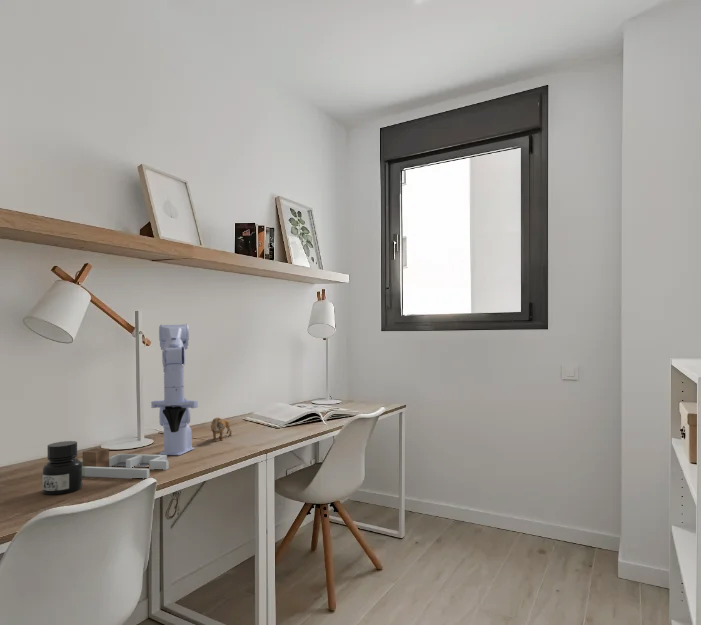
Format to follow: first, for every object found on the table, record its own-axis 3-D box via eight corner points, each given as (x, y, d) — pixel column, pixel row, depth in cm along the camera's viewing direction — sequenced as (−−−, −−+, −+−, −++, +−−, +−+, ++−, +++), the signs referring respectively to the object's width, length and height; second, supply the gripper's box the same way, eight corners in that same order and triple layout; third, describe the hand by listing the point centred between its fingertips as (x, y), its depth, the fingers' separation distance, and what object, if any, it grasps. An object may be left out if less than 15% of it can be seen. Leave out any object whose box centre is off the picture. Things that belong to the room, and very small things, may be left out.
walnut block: (95, 467, 151) (95, 447, 152) (109, 468, 150) (109, 448, 150) (82, 472, 147) (82, 451, 147) (96, 473, 145) (96, 452, 145)
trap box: (102, 460, 159) (102, 453, 160) (179, 463, 153) (179, 455, 153) (62, 475, 144) (62, 466, 144) (146, 479, 137) (146, 470, 137)
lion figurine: (223, 443, 181) (222, 418, 182) (208, 443, 182) (208, 418, 182) (233, 434, 196) (233, 411, 196) (220, 435, 196) (219, 412, 197)
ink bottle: (33, 493, 127) (33, 446, 128) (64, 483, 135) (64, 439, 136) (60, 497, 124) (60, 448, 124) (90, 486, 132) (90, 441, 132)
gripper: (144, 388, 149) (145, 433, 148) (188, 388, 146) (189, 434, 145) (159, 385, 156) (159, 429, 155) (200, 385, 152) (201, 430, 152)
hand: (174, 431), depth 151 cm, fingers closed
